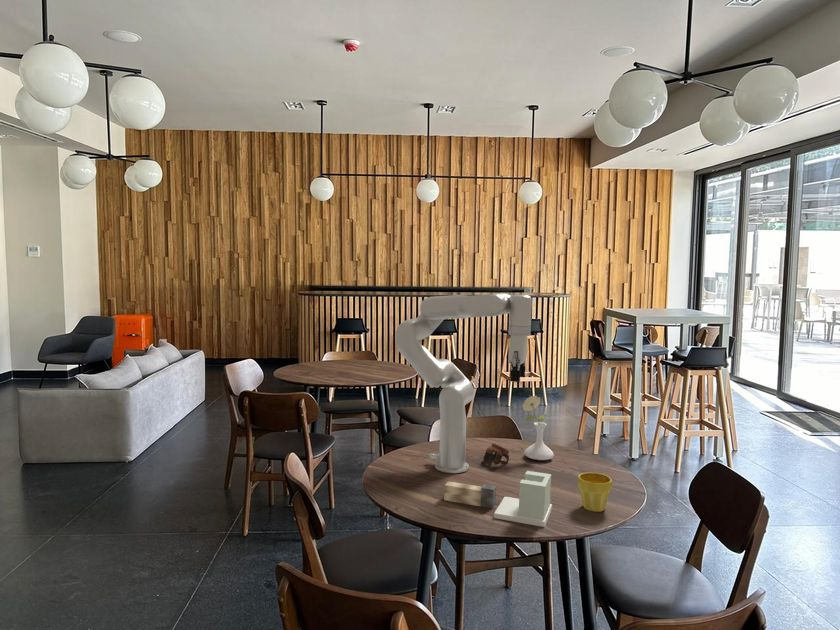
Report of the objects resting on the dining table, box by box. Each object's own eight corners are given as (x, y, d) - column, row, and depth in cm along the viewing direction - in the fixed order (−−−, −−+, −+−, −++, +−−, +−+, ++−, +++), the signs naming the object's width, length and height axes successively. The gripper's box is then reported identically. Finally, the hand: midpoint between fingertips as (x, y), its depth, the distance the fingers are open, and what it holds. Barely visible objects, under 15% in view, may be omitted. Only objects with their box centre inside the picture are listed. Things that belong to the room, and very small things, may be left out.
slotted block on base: (494, 518, 179) (495, 480, 178) (504, 501, 192) (505, 466, 191) (544, 527, 174) (546, 488, 173) (551, 508, 187) (553, 473, 186)
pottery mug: (478, 460, 233) (487, 441, 235) (500, 471, 233) (509, 452, 235) (485, 462, 221) (494, 442, 223) (507, 474, 221) (517, 454, 223)
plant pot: (569, 503, 191) (571, 474, 191) (595, 499, 196) (597, 470, 195) (591, 516, 182) (592, 485, 181) (617, 511, 186) (619, 481, 185)
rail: (444, 500, 192) (444, 481, 191) (447, 496, 195) (448, 478, 195) (492, 508, 186) (493, 489, 186) (495, 504, 190) (496, 485, 189)
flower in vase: (549, 453, 242) (552, 392, 240) (556, 463, 230) (559, 399, 228) (517, 453, 241) (519, 392, 239) (523, 462, 230) (525, 398, 228)
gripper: (513, 327, 217) (511, 374, 219) (503, 332, 201) (501, 382, 203) (534, 328, 215) (532, 375, 216) (526, 333, 199) (524, 384, 200)
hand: (517, 379), depth 209 cm, fingers open, 9 cm apart
